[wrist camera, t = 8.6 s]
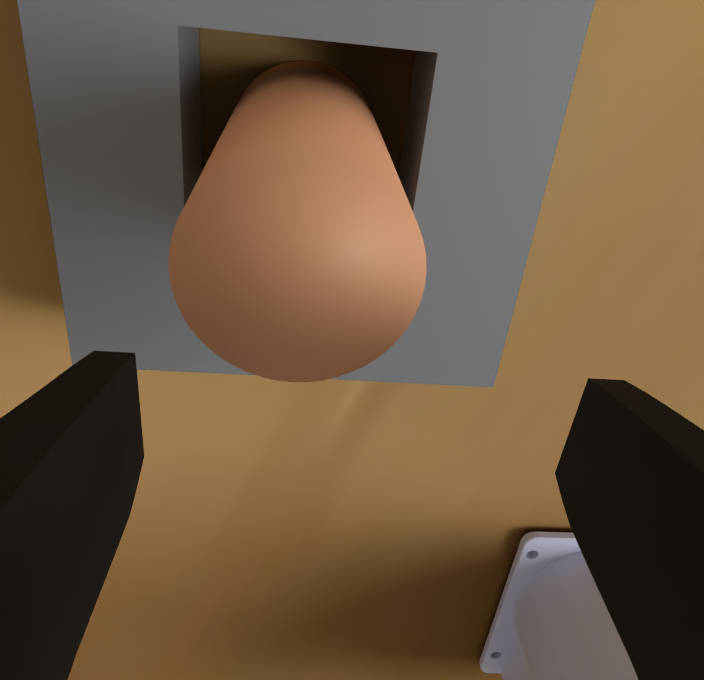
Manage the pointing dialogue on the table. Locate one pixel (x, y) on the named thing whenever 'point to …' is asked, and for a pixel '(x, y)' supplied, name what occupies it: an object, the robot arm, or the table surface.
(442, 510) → the table surface
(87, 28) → the socket board
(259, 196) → the peg
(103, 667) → the table surface
